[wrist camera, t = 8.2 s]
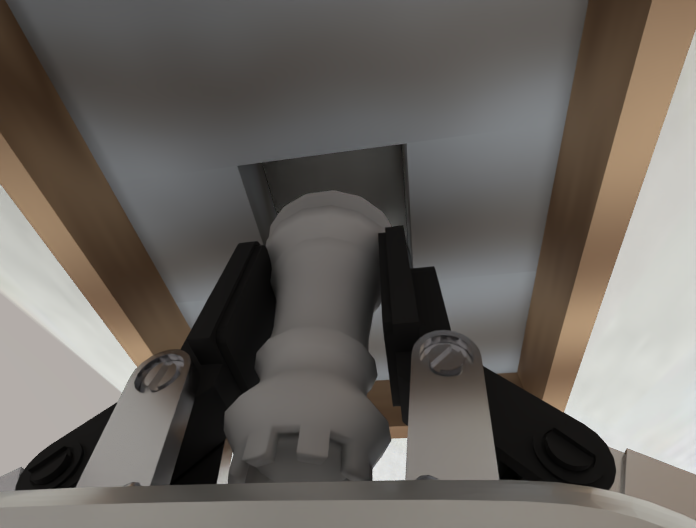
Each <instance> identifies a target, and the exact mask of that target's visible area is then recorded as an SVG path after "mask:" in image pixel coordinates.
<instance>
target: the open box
mask: <svg viewBox="0 0 696 528" xmlns="http://www.w3.org/2000/svg"><path fill="white" fill-rule="evenodd" d="M695 29H696V0H0V184H1V185H2V187H3V188H4V189H5V191H6V192H7V193H8V195H9V196H10V197H11V199H12V200H13V201H14V203H15V204H16V205H17V207H18V208H19V209H20V211H21V212H22V213H23V215H24V216H25V217H26V219H27V220H28V221H29V223H30V224H31V225H32V227H33V228H34V229H35V231H36V232H37V233H38V235H39V236H40V238H41V239H42V240H43V242H44V243H45V244H46V246H47V247H48V248H49V250H50V251H51V252H52V254H53V255H54V256H55V258H56V259H57V260H58V262H59V263H60V264H61V266H62V267H63V268H64V270H65V271H66V272H67V274H68V275H69V276H70V278H71V279H72V280H73V282H74V283H75V284H76V286H77V287H78V288H79V290H80V291H81V292H82V294H83V295H84V296H85V298H86V299H87V300H88V302H89V303H90V304H91V306H92V307H93V308H94V310H95V311H96V312H97V314H98V315H99V316H100V318H101V319H102V320H103V322H104V323H105V324H106V326H107V327H108V328H109V330H110V331H111V332H112V334H113V335H114V336H115V338H116V339H117V340H118V342H119V343H120V344H121V346H122V347H123V348H124V350H125V351H126V352H127V354H128V355H129V357H130V358H131V359H132V361H133V362H134V363H135V365H136V366H137V367H138V366H139V365H140V364H141V363H142V362H144V361H145V360H147V359H148V358H150V357H151V356H153V355H155V354H157V353H159V352H162V351H166V350H169V349H179V350H180V349H181V347H182V345H183V344H184V342H185V340H186V338H187V336H188V334H189V333H190V331H191V329H192V327H193V325H194V323H195V322H196V320H197V318H198V316H199V314H200V312H201V311H202V309H203V307H204V305H205V303H206V301H207V299H208V298H209V296H210V294H211V292H212V290H213V289H214V287H215V285H216V283H217V282H218V280H219V278H220V276H221V274H222V272H223V271H224V269H225V267H226V265H227V263H228V261H229V259H230V258H231V256H232V254H233V252H234V250H235V248H236V247H237V245H238V244H239V243H243V242H253V241H258V242H259V243H260V245H265V246H266V241H267V239H268V238H269V233H270V226H271V224H272V223H273V221H274V220H275V218H276V217H277V214H276V210H275V207H274V204H273V200H272V197H271V193H270V190H269V186H268V183H267V180H266V176H265V173H264V169H263V166H262V163H263V162H270V161H278V160H285V159H293V158H300V157H308V156H315V155H323V154H330V153H338V152H345V151H353V150H360V149H368V148H375V147H383V146H390V145H398V144H402V154H403V170H404V186H405V203H406V219H407V236H408V248H407V252H408V258H409V264H410V268H421V267H432V266H434V267H435V270H436V273H437V277H438V281H439V285H440V289H441V293H442V296H443V300H444V304H445V308H446V312H447V316H448V320H449V324H450V327H451V331H455V332H458V333H461V334H463V335H465V336H467V337H468V338H470V339H471V340H473V342H474V343H475V344H476V345H477V347H478V348H479V351H480V353H481V356H482V363H483V366H484V367H486V368H488V369H489V370H491V371H493V372H495V373H496V374H498V375H500V376H502V377H503V378H505V379H507V380H508V381H510V382H512V383H514V384H515V385H517V386H519V387H521V388H522V389H524V390H526V391H527V392H529V393H531V394H533V395H534V396H536V397H538V398H540V399H541V400H543V401H545V402H546V403H548V404H550V405H552V406H553V407H555V408H557V409H559V410H560V411H562V412H564V410H565V407H566V404H567V402H568V399H569V396H570V393H571V390H572V387H573V384H574V381H575V378H576V375H577V373H578V370H579V367H580V364H581V361H582V358H583V355H584V352H585V349H586V346H587V343H588V341H589V338H590V335H591V332H592V329H593V326H594V323H595V320H596V317H597V314H598V311H599V309H600V306H601V303H602V300H603V297H604V294H605V291H606V288H607V285H608V282H609V279H610V277H611V274H612V271H613V268H614V265H615V262H616V259H617V256H618V253H619V250H620V247H621V245H622V242H623V239H624V236H625V233H626V230H627V227H628V224H629V221H630V218H631V216H632V213H633V210H634V207H635V204H636V201H637V198H638V195H639V192H640V189H641V186H642V184H643V181H644V178H645V175H646V172H647V169H648V166H649V163H650V160H651V157H652V154H653V152H654V149H655V146H656V143H657V140H658V137H659V134H660V131H661V128H662V125H663V122H664V120H665V117H666V114H667V111H668V108H669V105H670V102H671V99H672V96H673V93H674V91H675V88H676V85H677V82H678V79H679V76H680V73H681V70H682V67H683V64H684V61H685V59H686V56H687V53H688V50H689V47H690V44H691V41H692V38H693V35H694V32H695ZM369 353H370V354H371V355H372V357H373V358H374V359H375V363H376V368H377V374H378V376H377V378H376V380H375V383H374V385H373V387H372V389H371V390H370V391H369V392H368V393H367V398H368V399H369V400H370V401H371V402H372V403H373V405H374V406H375V407H376V408H377V409H378V410H379V412H380V413H381V414H382V415H383V416H384V417H385V419H386V420H387V421H388V423H389V429H390V435H391V438H407V437H408V426H407V425H406V424H404V423H403V422H402V414H401V406H395V407H393V404H392V396H391V388H390V381H389V373H388V365H387V357H386V350H385V342H384V334H383V324H382V307H381V304H380V306H379V308H378V309H377V310H376V311H375V312H373V318H372V324H371V330H370V336H369Z"/></svg>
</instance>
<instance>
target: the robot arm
mask: <svg viewBox="0 0 696 528" xmlns="http://www.w3.org/2000/svg"><path fill="white" fill-rule="evenodd" d="M378 242H379V264H380V286H381V307H382V324H383V334H384V342H385V350H386V357H387V365H388V373H389V381H390V388H391V396H392V404H393V407H395V406H401V414H402V422H403V423H404V424H406V425H407V426H408V437H407V458H406V478H405V480H398V481H341V482H288V483H243V484H227V481H228V473H229V469H230V463H231V457H232V452H233V451H232V449H231V447H230V444H229V442H228V439H227V437H226V435H225V432H224V416H225V411H226V410H227V409H228V408H229V407H230V406H231V405H232V404H233V403H234V402H235V401H236V400H237V398H238V397H239V396H240V395H242V394H243V393H245V392H246V391H248V390H249V389H251V388H252V387H254V386H255V385H257V384H258V383H259V382H260V379H259V377H258V375H257V373H256V371H255V360H256V353H257V352H258V350H259V349H260V348H261V347H262V346H263V345H264V344H265V342H266V341H267V340H268V339H270V338H271V335H272V331H273V328H274V319H275V309H276V298H275V295H274V292H273V289H272V286H271V282H270V279H271V272H272V266H271V260H270V257H269V254H268V250H267V248H266V246H265V245H260V243H259V242H258V241H253V242H243V243H239V244H238V245H237V247H236V248H235V250H234V252H233V254H232V256H231V258H230V259H229V261H228V263H227V265H226V267H225V269H224V271H223V272H222V274H221V276H220V278H219V280H218V282H217V283H216V285H215V287H214V289H213V290H212V292H211V294H210V296H209V298H208V299H207V301H206V303H205V305H204V307H203V309H202V311H201V312H200V314H199V316H198V318H197V320H196V322H195V323H194V325H193V327H192V329H191V331H190V333H189V334H188V336H187V338H186V340H185V342H184V344H183V345H182V347H181V349H180V350H179V349H169V350H166V351H162V352H159V353H157V354H155V355H153V356H151V357H150V358H148V359H147V360H145V361H144V362H142V363H141V364H140V365H139V366H138V367H137V368H136V369H135V371H134V372H133V374H132V375H131V377H130V378H129V380H128V382H127V384H126V386H125V388H124V390H123V392H122V394H121V396H120V398H119V401H118V402H117V403H115V404H114V405H112V406H111V407H109V408H108V409H106V410H104V411H103V412H101V413H100V414H98V415H97V416H95V417H93V418H92V419H90V420H89V421H87V422H85V423H84V424H83V425H81V426H79V427H78V428H76V429H75V430H73V431H71V432H70V433H68V434H67V435H65V436H64V437H62V438H60V439H59V440H57V441H56V442H54V443H53V444H51V445H50V446H48V447H47V448H46V449H44V450H43V451H42V452H40V453H39V454H38V455H37V456H36V457H35V458H34V459H33V460H32V461H31V462H30V463H29V464H28V465H27V467H26V468H25V469H23V468H22V467H20V468H18V469H16V470H14V471H12V472H10V473H7V474H5V475H3V476H1V477H0V528H696V475H695V474H692V473H690V472H687V471H685V470H682V469H680V468H677V467H674V466H672V465H669V464H667V463H664V462H661V461H659V460H656V459H654V458H651V457H648V456H646V455H643V454H641V453H638V452H635V451H633V450H630V449H628V448H627V449H626V451H625V453H623V452H621V451H618V450H615V449H613V448H610V447H608V446H607V444H606V443H605V442H604V441H603V440H602V439H601V438H600V437H599V436H598V434H597V433H595V432H594V431H593V430H591V429H590V428H588V427H587V426H586V425H584V424H583V423H581V422H579V421H577V420H576V419H574V418H572V417H571V416H569V415H567V414H565V413H564V412H562V411H560V410H559V409H557V408H555V407H553V406H552V405H550V404H548V403H546V402H545V401H543V400H541V399H540V398H538V397H536V396H534V395H533V394H531V393H529V392H527V391H526V390H524V389H522V388H521V387H519V386H517V385H515V384H514V383H512V382H510V381H508V380H507V379H505V378H503V377H502V376H500V375H498V374H496V373H495V372H493V371H491V370H489V369H488V368H486V367H484V366H483V363H482V356H481V353H480V351H479V348H478V347H477V345H476V344H475V343H474V342H473V340H471V339H470V338H468V337H467V336H465V335H463V334H461V333H458V332H455V331H451V327H450V324H449V320H448V316H447V312H446V308H445V304H444V300H443V296H442V293H441V289H440V285H439V281H438V277H437V273H436V270H435V267H434V266H432V267H421V268H410V264H409V258H408V252H407V245H406V239H405V233H404V227H403V226H394V227H385V232H383V233H378Z"/></svg>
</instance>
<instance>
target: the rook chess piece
mask: <svg viewBox="0 0 696 528" xmlns="http://www.w3.org/2000/svg"><path fill="white" fill-rule="evenodd" d="M385 227H392V226H391V224H390V222H389V221H388V219H387V218H386V216H385V214H384V213H383V212H382V211H381V210H380V209H378V208H377V207H375V206H374V205H372V204H371V203H369V202H368V201H367V200H365V199H364V198H362V197H360V196H356V195H352V194H348V193H344V192H339V191H335V190H330V191H323V192H315V193H308V194H305V195H303V196H301V197H299V198H298V199H296V200H294V201H293V202H291V203H289V204H287V205H286V206H284V207H283V208H282V210H281V211H280V213H279V214H278V216H277V217H276V218H275V220H274V221H273V223H272V224H271V226H270V233H269V238H268V239H267V241H266V248H267V250H268V254H269V257H270V260H271V266H272V272H271V279H270V282H271V286H272V289H273V292H274V295H275V298H276V309H275V319H274V328H273V331H272V335H271V338H270V339H268V340H267V341H266V342H265V344H264V345H263V346H262V347H261V348H260V349H259V350H258V352H257V353H256V360H255V371H256V373H257V375H258V377H259V379H260V382H259V383H258V384H257V385H255V386H254V387H252V388H251V389H249V390H248V391H246V392H245V393H243V394H242V395H240V396H239V397H238V398H237V400H236V401H235V402H234V403H233V404H232V405H231V406H230V407H229V408H228V409H227V410H226V411H225V416H224V432H225V435H226V437H227V439H228V442H229V444H230V447H231V449H232V451H233V454H234V455H233V459H232V462H231V465H230V469H229V473H228V484H243V483H288V482H341V481H372V469H373V467H374V466H375V465H376V463H377V462H378V461H379V459H380V458H381V457H382V455H383V454H384V452H385V450H386V448H387V447H388V445H389V443H390V442H391V435H390V429H389V423H388V421H387V420H386V419H385V417H384V416H383V415H382V414H381V413H380V412H379V410H378V409H377V408H376V407H375V406H374V405H373V403H372V402H371V401H370V400H369V399H368V398H367V393H368V392H369V391H370V390H371V389H372V387H373V385H374V383H375V380H376V378H377V376H378V374H377V368H376V363H375V359H374V358H373V357H372V355H371V354H370V353H369V336H370V330H371V324H372V318H373V312H375V311H376V310H377V309H378V308H379V306H380V304H381V286H380V264H379V242H378V233H383V232H385Z"/></svg>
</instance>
